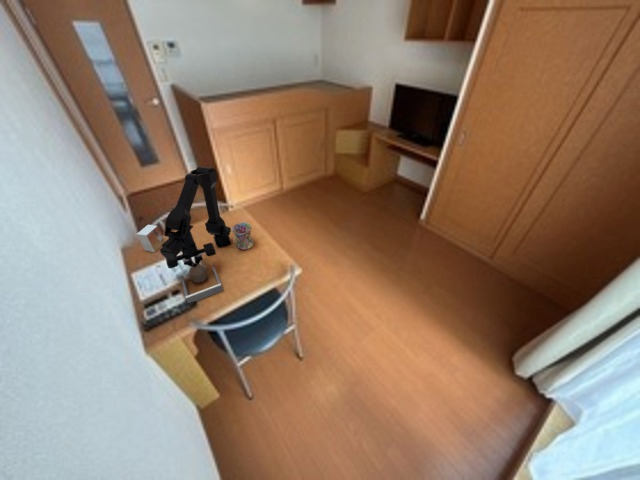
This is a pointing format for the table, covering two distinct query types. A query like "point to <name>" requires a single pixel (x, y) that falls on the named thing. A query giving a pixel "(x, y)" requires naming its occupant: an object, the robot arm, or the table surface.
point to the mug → (243, 235)
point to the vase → (197, 273)
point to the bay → (204, 292)
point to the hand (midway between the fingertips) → (196, 268)
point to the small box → (151, 238)
